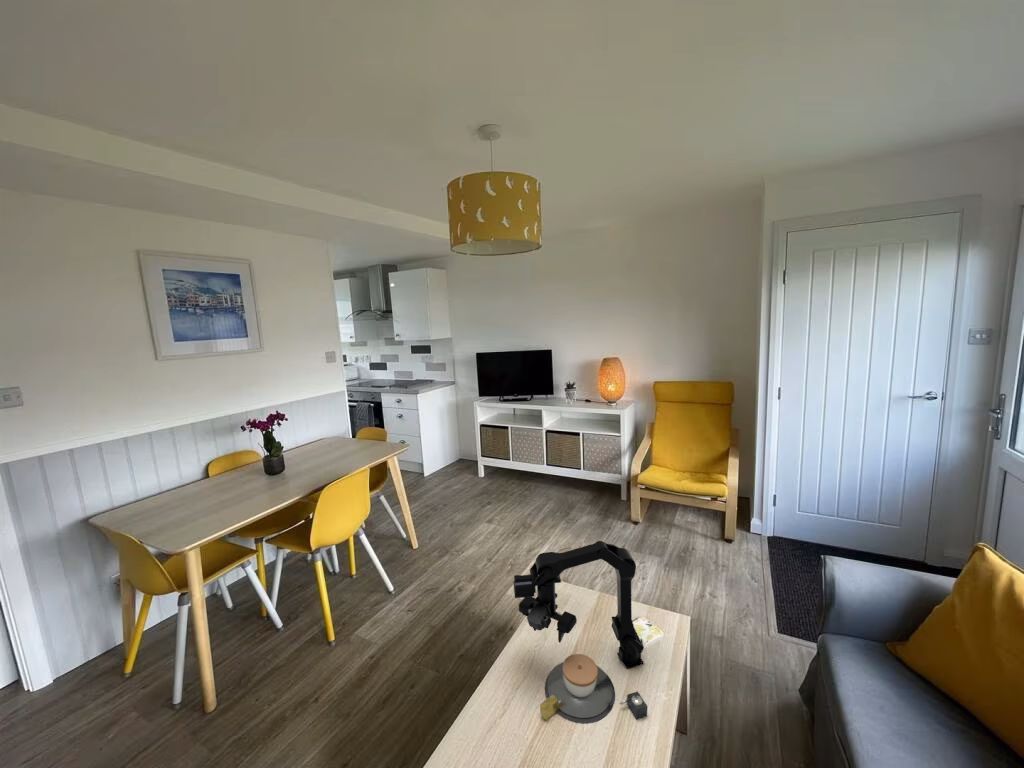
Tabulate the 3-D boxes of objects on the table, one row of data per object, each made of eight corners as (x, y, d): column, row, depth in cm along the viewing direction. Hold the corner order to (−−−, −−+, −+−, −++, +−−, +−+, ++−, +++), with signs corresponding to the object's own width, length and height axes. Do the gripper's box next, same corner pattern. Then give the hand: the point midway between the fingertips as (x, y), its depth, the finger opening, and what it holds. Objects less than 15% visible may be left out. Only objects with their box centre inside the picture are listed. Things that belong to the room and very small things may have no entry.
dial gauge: (637, 701, 129) (637, 690, 128) (647, 716, 124) (647, 705, 123) (618, 707, 127) (618, 696, 126) (627, 722, 122) (627, 712, 122)
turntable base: (594, 653, 146) (594, 653, 146) (628, 710, 126) (628, 709, 126) (535, 671, 140) (535, 670, 140) (561, 733, 120) (561, 732, 120)
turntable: (579, 651, 147) (579, 643, 146) (626, 692, 131) (626, 683, 130) (521, 692, 132) (521, 683, 132) (566, 744, 117) (566, 734, 116)
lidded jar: (596, 707, 127) (597, 682, 125) (560, 701, 129) (561, 676, 127) (597, 676, 137) (598, 651, 135) (563, 670, 139) (563, 646, 137)
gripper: (507, 597, 135) (509, 640, 138) (559, 620, 125) (560, 666, 128) (526, 578, 144) (528, 618, 147) (577, 598, 133) (577, 641, 136)
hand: (547, 635), depth 139 cm, fingers open, 9 cm apart
